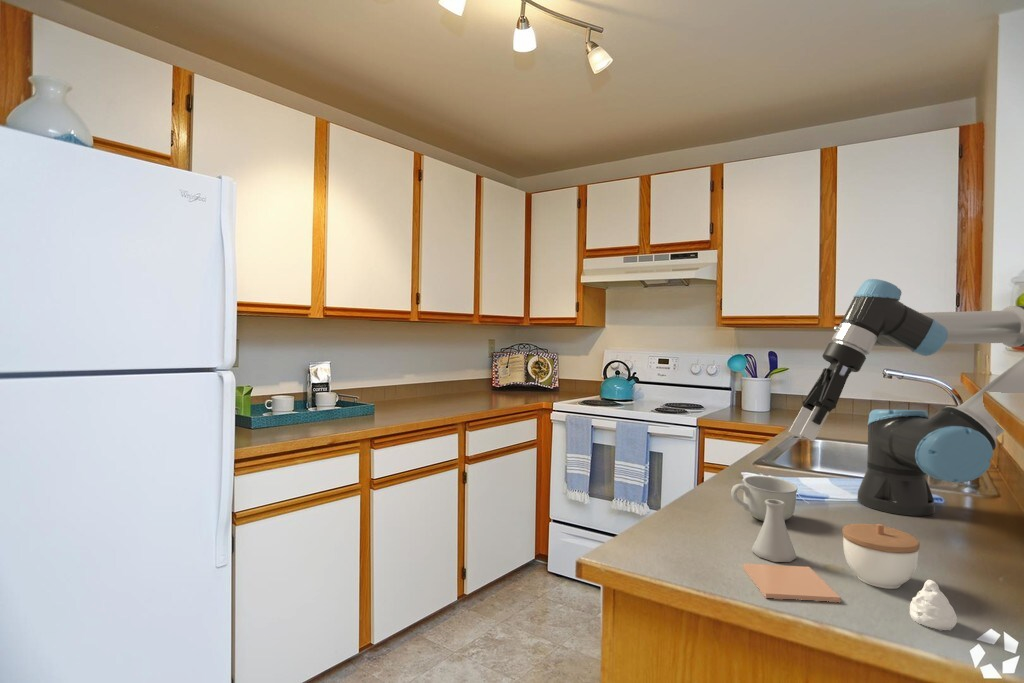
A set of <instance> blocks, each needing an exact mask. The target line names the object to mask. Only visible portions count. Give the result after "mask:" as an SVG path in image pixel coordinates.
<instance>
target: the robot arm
mask: <svg viewBox="0 0 1024 683" xmlns="http://www.w3.org/2000/svg"><path fill="white" fill-rule="evenodd" d="M901 296H902V289H901V288H900V287H898V286H897V285H895V284H894V283H892V282H889V281H886V280H882V279H878V278H870V279H867V280H865V281H864V282H862V284H861V285H860V286H859V288H858V290H857V291H856V292H855V295H853V299H852V300H851V303H850V305H849V306H848V309H847V310H846V312H845V314H844V316H843V317H842V320H841V321H840V324H839V325H838V326H836V325H835V326H834V328H833V330H834V331H835V332H834V334H833V335H832V338H831V342H829V343H828V344H827V346H826V348H825V350H824V351H823V353H822V358H823V360H825V361H826V362H828V363H829V366H828V368H825V367H824V368H823V369H822V372H821V373H820V375H819V377H818V379H817V380H816V381H815V383H814V385H813V387H812V388H811V389H810V391H809V392H808V394H807V396H806V397H805V399H804V400H803V401H802V407H801V408H800V411H799V412H798V415H797V416H796V417H795V419H794V421H793V423H792V425H791V427H790V429H789V430H788V433H791V434H792V435H794V436H796V437H798V438H800V439H802V437H805V438H806V439H809V440H811V441H812V442H814V441H815V440H816V438H817V437H818V434H819V432H820V431H821V429H822V427H823V425H824V423H825V422H826V419H828V417H829V414H830V412H832V410H834V409H836V408H837V405H838V401H839V399H840V397H841V395H842V392H843V391H844V390H843V389H844V387H845V384H846V382H847V380H848V378H849V376H850V374H851V373H858V372H860V371H861V369H862V367H863V365H864V363H865V361H867V360H866V359H867V357H866V356H867V355H869V354H870V353H871V351H872V350H873V347H874V346H875V347H892V348H893V347H894V348H905V349H907V350H910V351H911V352H912V353H915V354H917V355H920V356H923V357H927V356H932V355H934V354H936V353H937V352H938V351H940V350H941V349H942V348H943V347H944V346H945V345H964V344H967V345H968V344H969V345H970V344H972V345H973V344H1003V345H1004V346H1006V347H1009V348H1011V347H1012V348H1024V305H1011V306H1009V305H1008V306H1007V307H1005V308H1003V309H1002V310H985V311H984V310H979V311H978V310H975V311H974V310H973V311H972V310H970V311H939V312H938V311H935V312H932V311H931V312H930V311H929V312H919V311H917V310H916V309H913V308H911V307H910V306H907V305H905V304H904V303H902V302H901V301H900V300H901ZM986 391H989V392H1001V393H1024V357H1022V358H1021V359H1020V360H1018V361H1017V362H1016V363H1014V364H1013V365H1011V366H1010V367H1009V368H1008V369H1007V370H1005V371H1003V372H1002V373H1001V374H1000V375H998V376H997V377H996V378H995V379H994V380H992V381H990V382H989V383H987V385H985V386H984V387H983V388H981V389H980V390H979V391H977V392H976V393H974V395H972V396H971V397H969V398H968V399H967V400H965V401H964V402H963V403H962V404H960V405H959V406H952V405H947V406H944V407H942V409H940V410H939V411H937V412H936V413H934V414H933V415H931V417H930V416H929V412H928V411H927V410H923V409H921V410H920V409H883V408H882V409H879V408H878V409H877V408H876V409H872V410H871V411H870V412H869V415H868V421H867V454H866V456H867V464H866V471H865V473H864V475H863V478H862V480H861V483H860V485H859V488H858V490H857V501H858V503H860V504H861V505H863V506H865V507H867V508H871V509H873V510H876V511H881V512H885V513H890V514H896V515H902V516H919V517H921V516H922V517H923V516H930V515H933V514H935V512H936V509H935V506H936V502H935V499H934V497H933V493H932V490H931V488H930V485H929V482H928V477H927V476H929V477H931V478H933V479H935V480H941V481H944V482H950V483H958V484H959V483H967V482H972V481H974V480H976V479H978V478H980V477H981V476H982V475H984V474H985V473H986V472H987V471H988V469H989V468H990V466H991V465H992V464H991V463H992V462H991V461H990V460H991V459H993V457H994V451H995V450H996V449H997V447H998V442H997V437H999V436H1000V435H1002V434H1003V433H1004V432H1005V431H1004V430H1003V429H1002V428H1001V427H1000V426H999V425H998V424H997V422H996V421H995V420H994V418H993V417H992V416H991V415H990V414H989V413H988V411H987V410H986V409H985V407H984V403H983V393H984V392H986Z"/></svg>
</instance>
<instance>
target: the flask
mask: <svg viewBox="0 0 1024 683" xmlns="http://www.w3.org/2000/svg"><path fill="white" fill-rule="evenodd" d="M765 504H767V511H766V516H765V520H764V521H763V523H762V526H761V528H760V529H759V532H758V535H757V536H756V539H755V542H754V543H753V545H752V548H751V552H752V553H753V554H755V555H756V556H757V557H758V558H761V559H763V560H764V559H765V560H767V561H770V562H773V563H790V562H792V561H794V560H795V559H797V558H798V556H797V553H796V550H795V548H794V545H793V543H792V541H791V537H790V535H789V531H788V528H787V525H786V522H785V521H786V520H785V521H784V515H783V507H784V506H785V503H784V502H783V501H780V500H776V499H768V500H765Z"/></svg>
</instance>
